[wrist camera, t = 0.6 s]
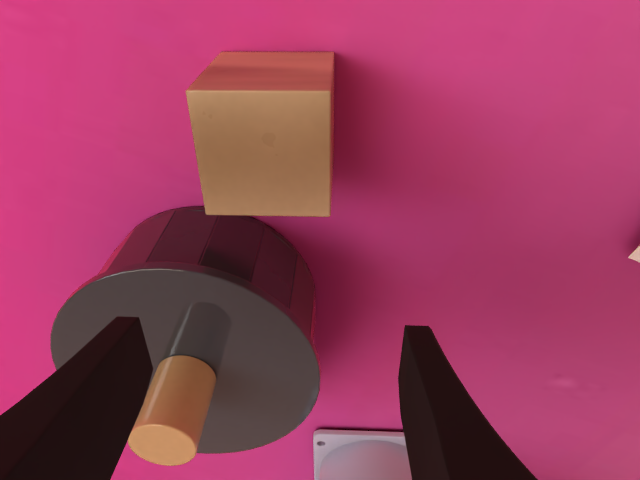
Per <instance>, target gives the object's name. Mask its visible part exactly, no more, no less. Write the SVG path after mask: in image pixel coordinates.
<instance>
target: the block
mask: <svg viewBox="0 0 640 480" xmlns="http://www.w3.org/2000/svg"><path fill="white" fill-rule="evenodd" d="M186 96H187V102H188V109H189V115H190V121H191V127H192V133H193V139H194V145H195V152H196V158H197V164H198V170H199V176H200V182H201V188H202V195H203V201H204V207H205V213H206V215H245V216H310V217H330V215H331V198H332V179H333V161H334V52H220V54H219V55H218V56H217V57H216V58H215V59H214V60H213V61H212V62H211V63H210V65H209V66H208V67H207V68H206V69H205V70H204V71H203V72H202V73H201V74H200V75H199V77H198V78H197V79H196V80H195V81H194V82H193V83H192V84H191V85H190V86H189V88H188V89H187V90H186Z"/></svg>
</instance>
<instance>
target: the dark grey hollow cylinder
mask: <svg viewBox="0 0 640 480" xmlns="http://www.w3.org/2000/svg"><path fill="white" fill-rule="evenodd" d="M160 261H168V262H182V263H190V264H195V265H201V266H206V267H210V268H213V269H217V270H220V271H224V272H227V273H229V274H232V275H234V276H237V277H240V278H242V279H244V280H246V281H248V282H250V283H252V284H254V285H256V286H258V287H260V288H262V289H263V290H265V291H266V292H268V293H269V294H271V295H272V296H274V297H275V298H277V299H278V300H279V301H280V302H281V303H283V304H284V305H285V306H286V307H287V308H289V309H290V310H291V311H292V313H293V314H294V315H295V316H296V317H297V318H298V319H299V320H300V321H301V323H302V324H303V325H304V327H305V328H306V330H307V331H308V333H309V334H310V336H311V338H312V340H313V341H314V328H315V298H316V295H315V286H314V282H313V279H312V275H311V273H310V271H309V268H308V266H307V264H306V263H305V261H304V260H303V258H302V256H301V255H300V254H299V252H298V251H297V250H296V249H295V248H294V246H293V245H292V244H291V243H290V242H289V241H287V240H286V239H285V238H284V237H283V236H282V235H281V234H279V233H278V232H276V231H275V230H274V229H272V228H271V227H269V226H267V225H266V224H264V223H262V222H260V221H258V220H256V219H254V218H251V217H249V216H245V215H206V213H205V207H201V206H199V207H184V208H177V209H172V210H169V211H165V212H162V213H159V214H157V215H154V216H152V217H150V218H148V219H146V220H145V221H143V222H142V223H140V224H139V225H137V226H136V227H135V228H134V229H133V230H132V231H131V232H130V233H129V234H128V235H127V236H126V238H125V239H124V240H123V241H122V243H121V244H120V245H119V246H118V247H117V248H116V249H115V250H114V252H113V253H112V255H111V256H110V258H109V259H108V260H107V262H106V263H105V265H104V266H103V268H102V269H101V271H100V272H99V273H98V275H99V274H101V273H104V272H106V271H108V270H111V269H114V268H118V267H121V266H125V265H129V264H136V263H143V262H160Z"/></svg>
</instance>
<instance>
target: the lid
mask: <svg viewBox="0 0 640 480" xmlns="http://www.w3.org/2000/svg"><path fill="white" fill-rule="evenodd" d="M117 316H123V317H139V319H140V322H141V326H142V330H143V333H144V337H145V340H146V344H147V348H148V351H149V355H150V358H151V362H152V366H153V372H152V376H151V379H150V383H149V387H148V390H147V393H146V397H145V400H144V403H143V406H142V408H141V410H140V413H139V415H138V417H137V420H136V422H135V424H134V427H133V429H132V431H131V434H130V436H129V438H128V443H129V446H130V448H131V449H132V451H133V452H134V453H135V454H136V455H138V456H139V457H141V458H142V459H144V460H146V461H149V462H151V463H155V464H159V465H166V466H175V465H181V464H185V463H187V462H189V461H190V460H192V459H193V458H194V457H195V455H196V453H232V452H239V451H245V450H250V449H254V448H257V447H261V446H264V445H267V444H269V443H272V442H274V441H276V440H278V439H280V438H282V437H284V436H286V435H287V434H289V433H290V432H291V431H293V430H294V429H296V428H297V427H298V426H299V425H300V424H301V423H302V422H303V421H304V420H305V419H306V417H307V416H308V415H309V413H310V412H311V410H312V408H313V407H314V405H315V403H316V400H317V397H318V394H319V390H320V378H321V368H320V359H319V356H318V352H317V349H316V346H315V344H314V342H313V340H312V338H311V336H310V334H309V333H308V331H307V330H306V328H305V327H304V325H303V324H302V323H301V321H300V320H299V319H298V318H297V317H296V316H295V315H294V314H293V313H292V311H291V310H290V309H289V308H287V307H286V306H285V305H284V304H283V303H281V302H280V301H279V300H278V299H277V298H275V297H274V296H272V295H271V294H269V293H268V292H266V291H265V290H263V289H262V288H260V287H258V286H256V285H254V284H252V283H250V282H248V281H246V280H244V279H242V278H240V277H237V276H234V275H232V274H229V273H227V272H224V271H220V270H217V269H213V268H210V267H206V266H201V265H195V264H190V263H182V262H168V261H160V262H143V263H136V264H129V265H125V266H121V267H118V268H114V269H111V270H108V271H106V272H104V273H101V274H99V275H97V276H95V277H93V278H91V279H90V280H88V281H87V282H85V283H84V284H82V285H81V286H80V287H79V288H78V289H76V290H75V291H74V292H73V293H72V294H71V295H70V297H69V298H68V299H67V301H66V302H65V303H64V305H63V306H62V307H61V309H60V310H59V312H58V314H57V316H56V318H55V320H54V323H53V327H52V331H51V353H52V359H53V362H54V364H55V367H56V370H58V369H59V368H60V367H61V366H62V365H64V364H65V363H66V362H67V361H68V360H69V359H70V358H72V357H73V356H74V355H75V354H76V353H77V352H78V351H79V350H80V349H82V348H83V347H84V346H85V345H86V344H87V343H88V342H89V341H90V340H91V339H93V338H94V337H95V336H96V335H97V334H98V333H99V332H100V331H101V330H102V329H104V328H105V327H106V326H107V325H108V324H109V323H110V322H111V321H112V320H114V319H115V318H116V317H117Z"/></svg>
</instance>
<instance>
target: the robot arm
mask: <svg viewBox="0 0 640 480" xmlns="http://www.w3.org/2000/svg"><path fill="white" fill-rule="evenodd" d="M152 372H153V366H152V362H151V358H150V355H149V351H148V348H147V344H146V340H145V337H144V333H143V330H142V326H141V322H140V319H139V317H123V316H117V317H116V318H115V319H114V320H112V321H111V322H110V323H109V324H108V325H107V326H106V327H105V328H104V329H102V330H101V331H100V332H99V333H98V334H97V335H96V336H95V337H94V338H93V339H91V340H90V341H89V342H88V343H87V344H86V345H85V346H84V347H83V348H82V349H80V350H79V351H78V352H77V353H76V354H75V355H74V356H73V357H72V358H70V359H69V360H68V361H67V362H66V363H65V364H64V365H62V366H61V367H60V368H59V369H58V370H57V371H56V372H55V373H53V374H52V375H51V376H50V377H49V378H47V379H46V380H45V381H44V382H42V383H41V384H40V385H39V386H38V387H36V388H35V389H34V390H33V391H31V392H30V393H29V394H28V395H26V396H25V397H24V398H23V399H22V400H20V401H19V402H18V403H16V404H15V405H14V406H13V407H11V408H10V409H9V410H7V411H6V412H4V413H3V414H2V415H0V480H110V479H111V477H112V474H113V472H114V470H115V467H116V465H117V463H118V461H119V458H120V456H121V454H122V452H123V449H124V447H125V445H126V443H127V440H128V438H129V436H130V434H131V431H132V429H133V427H134V424H135V422H136V420H137V417H138V415H139V413H140V410H141V408H142V406H143V403H144V400H145V397H146V393H147V390H148V387H149V383H150V379H151V376H152ZM398 381H399V398H400V412H401V419H402V425H403V431H404V432H386V431H357V430H328V429H319V430H316V431H315V432H314V434H313V449H314V480H537V479H536V478H535V476H534V475H533V474H532V473H531V472H530V471H529V470H528V469H527V468H526V467H525V465H524V464H523V463H522V462H521V461H520V460H519V459H518V458H517V456H516V455H515V454H514V453H513V452H512V451H511V449H510V448H509V447H508V446H507V445H506V443H505V442H504V441H503V440H502V439H501V437H500V436H499V435H498V434H497V432H496V431H495V430H494V428H493V427H492V426H491V425H490V423H489V422H488V421H487V419H486V418H485V416H484V415H483V414H482V412H481V411H480V410H479V408H478V407H477V405H476V404H475V402H474V401H473V400H472V398H471V397H470V395H469V394H468V392H467V391H466V389H465V387H464V386H463V384H462V383H461V381H460V380H459V378H458V377H457V375H456V373H455V372H454V370H453V368H452V367H451V365H450V363H449V362H448V360H447V358H446V356H445V355H444V353H443V351H442V349H441V347H440V345H439V343H438V342H437V340H436V338H435V336H434V333H433V331H432V329H431V328H430V327H429V326H410V325H405V329H404V337H403V345H402V353H401V361H400V368H399V376H398Z"/></svg>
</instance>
